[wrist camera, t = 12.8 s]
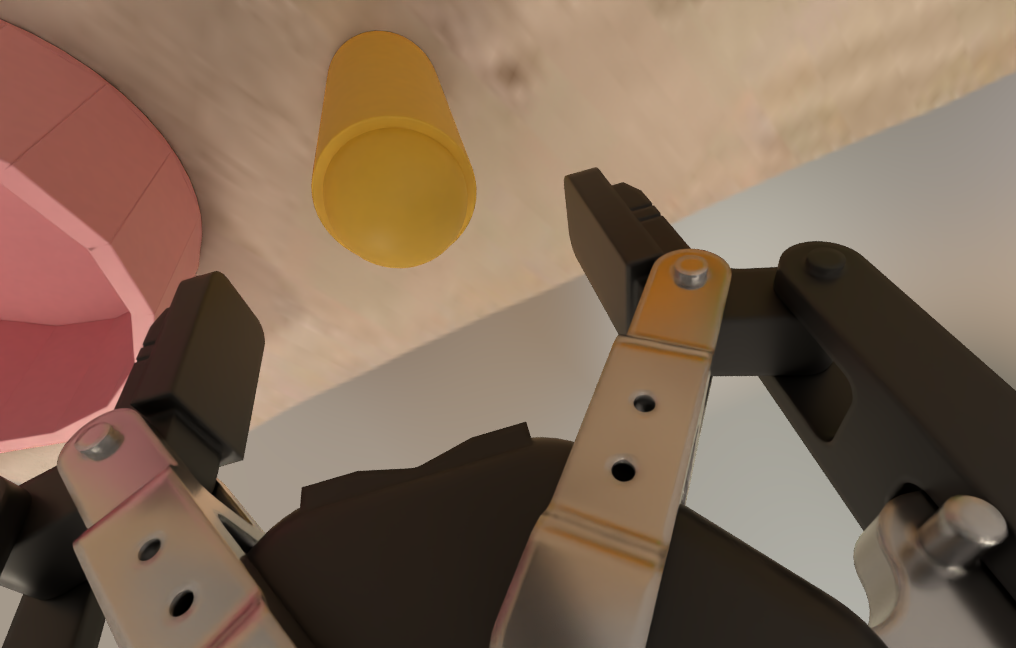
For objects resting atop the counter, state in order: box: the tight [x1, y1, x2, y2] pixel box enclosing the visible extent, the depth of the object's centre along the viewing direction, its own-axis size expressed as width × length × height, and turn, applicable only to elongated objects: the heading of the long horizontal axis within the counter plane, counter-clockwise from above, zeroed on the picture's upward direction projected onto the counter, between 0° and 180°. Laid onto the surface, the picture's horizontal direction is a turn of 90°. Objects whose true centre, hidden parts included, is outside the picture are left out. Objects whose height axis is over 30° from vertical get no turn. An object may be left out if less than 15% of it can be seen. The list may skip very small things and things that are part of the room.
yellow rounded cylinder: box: [311, 31, 476, 268], centre depth 17 cm, size 5×5×11 cm
